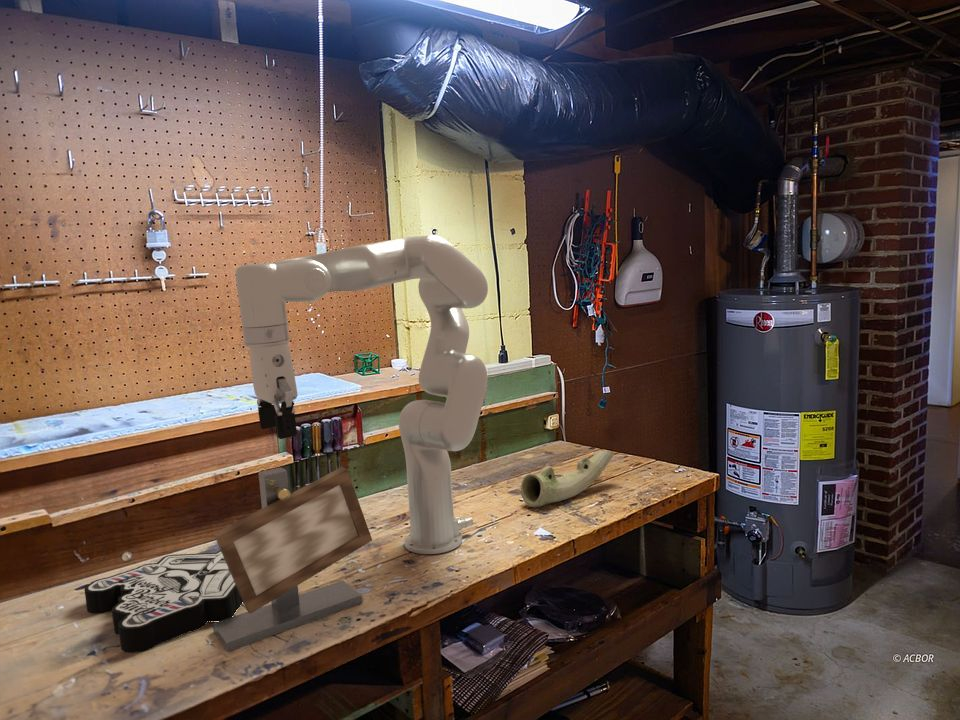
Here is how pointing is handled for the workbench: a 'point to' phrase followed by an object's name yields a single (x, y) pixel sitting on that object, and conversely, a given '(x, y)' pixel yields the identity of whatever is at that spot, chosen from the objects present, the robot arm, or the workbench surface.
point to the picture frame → (293, 539)
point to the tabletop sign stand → (290, 605)
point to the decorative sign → (165, 598)
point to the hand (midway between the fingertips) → (278, 432)
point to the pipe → (563, 481)
